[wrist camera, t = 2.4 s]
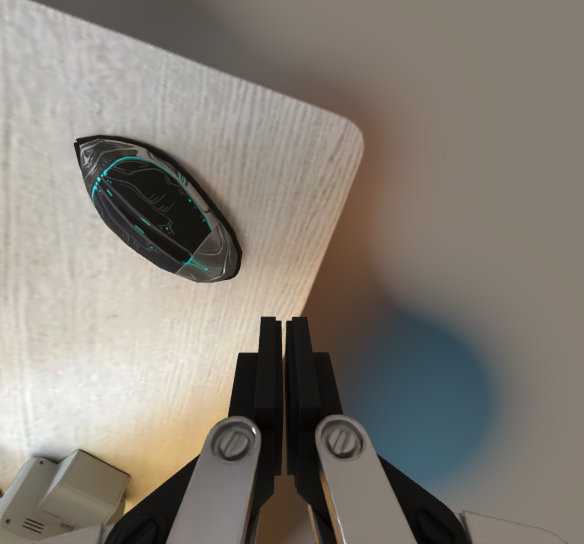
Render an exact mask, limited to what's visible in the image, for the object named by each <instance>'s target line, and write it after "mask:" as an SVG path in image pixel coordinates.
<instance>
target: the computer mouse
mask: <svg viewBox="0 0 584 544" xmlns="http://www.w3.org/2000/svg"><path fill="white" fill-rule="evenodd" d="M76 141H77V142H75V143H74V147H75V151H76V155H77V159H78V163H79V167H80V169H81V171H82V175H83V179H84V182H85V186H86V189H87V192H88V194H89V196H90V198H91V200H92V202H93V204H94V206H95V208H96V210H97V211H98V213H99V215H100V217H101V218H102V219H103V221H104V222H105V224H106V225H107V226H108V227H109V228H110V229H111V230H112V231H113V232H114V233H115V234H116V235H117V236H118V237H119V238H120V239H122V240H123V241H124V242H125V243H126V244H127V245H128V246H129V247H131V248H132V249H133V250H135V251H136V252H137V253H139V254H140V255H142V256H143V257H145V258H146V259H148V260H149V261H151V262H152V263H153V264H155V265H156V266H158V267H159V268H161V269H164V270H166V271H169V272H171V273H173V274H176V275H179V276H181V277H184V278H187V279H189V280H192V281H194V282H205V283H213V282H218V281H223V280H229V279H232V278H234V277H235V276H236V275H237V274H238V272H239V270H240V266H241V259H242V250H241V247H240V245H239V242H238V239H237V237H236V234H235V232H234V230H233V229H232V227H231V226H230V224H229V223H228V221H227V220H226V218H225V217H224V215H223V214H222V213H221V211H220V210H219V209H218V208H217V206H216V205H215V204H214V203H213V201H212V200H211V199H210V198H209V196H208V195H207V194H206V193H205V191H204V190H203V189H202V188H201V186H200V185H199V184H198V183H197V181H196V180H195V179H194V178H193V177H192V176H191V175H190V174H189V173H188V172H187V171H186V170H185V169H184V168H182V167H181V166H180V165H179V164H178V163H177V162H176V161H175V160H174V159H173V158H171V157H170V156H169V155H167V154H166V153H164V152H163V151H161V150H159V149H157V148H155V147H153V146H150V145H148V144H145V143H142V142H139V141H135V140H132V139H127V138H122V137H115V136H103V135H97V136H90V137H84V138H78V139H76Z"/></svg>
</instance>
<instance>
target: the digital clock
mask: <svg viewBox="0 0 584 544" xmlns="http://www.w3.org/2000/svg"><path fill="white" fill-rule="evenodd" d="M129 479H130V476H128V475H126V474H124V473H123V472H121V471H119V470H117V469H115V468H113V467H111V466H109V465H107V464H105V463H103V462H101V461H100V460H98V459H96V458H94V457H92V456H90V455H88V454H86V453H84V452H82V451H80V450H76V451H75V452H74V453H72V454H71V455H69V456H68V457H67V458H65V459H64V460H62V461H61V462H60V463H58V464H55V463H53V462H51V461H49V460H47V459H45V458H42V457H34V458H31V459H29V460H28V461H27V462H25V463H24V464H23V466H22V467H21V469H20V470H19V472H18V473H17V475H16V476H15V478H14V480H13V481H12V483H11V484H10V486H9V487H8V489H7V491H6V492H5V494H4V495H3V497H2V498H1V500H0V544H30V543H33V542H37V541H40V540H44V539H47V538H51V537H54V536H58V535H61V534H65V533H68V532H72V531H75V530H78V529H82V528H85V527H89V526H92V525H96V524H99V523H103V524H104V526H108V525H111V524H115V523H117V522H118V521H119V520H120V519H121V518H122V517H123V514H124V509H125V499H124V497H122V496H123V494H124V491H125V489H126V486H127V484H128V482H129Z"/></svg>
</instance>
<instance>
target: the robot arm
mask: <svg viewBox="0 0 584 544" xmlns="http://www.w3.org/2000/svg"><path fill="white" fill-rule="evenodd" d="M284 385H285V386H284V387H285V419H286V450H287V475H294V487H297V493H298V494H300V496H301V497H302V498H303V499H304V500H305V501H306V502H307V503H308V511H309V516H310V521H311V525H312V530H313V535H314V539H315V544H568V543H567V542H566V541H564V540H563V539H561V538H560V537H558V536H557V535H556V534H554V533H552V532H550V531H547V530H545V529H542V528H538V527H534V526H529V525H525V524H521V523H517V522H512V521H508V520H504V519H499V518H495V517H491V516H486V515H482V514H478V513H473V512H469V511H465V510H463V511H462V513H461V514H459V513H455V512H452V511H451V510H450V509H449V508H448V507H447V506H446V505H444V504H443V503H442V502H441V501H439V500H438V499H436V498H435V497H434V496H433V495H431V494H430V493H429V492H427V491H426V490H425V489H423V488H422V487H421V486H419V485H418V484H417V483H415V482H414V481H413V480H411V479H410V478H409V477H407V476H406V475H404V474H403V473H402V472H401V471H399V470H398V469H397V468H395V467H394V466H393V465H391V464H390V463H389V462H387V461H386V460H385V459H383V458H382V457H381V456H379V455H378V454H377V453H376V452H375V450H374V448H373V446H372V443H371V441H370V439H369V437H368V434H367V433H366V431H365V429H364V428H363V426H362V425H360V424H359V423H358V422H357V421H356V420H354V419H352V418H351V417H348V416H345V415H343V412H342V407H341V403H340V399H339V394H338V390H337V386H336V381H335V377H334V373H333V368H332V364H331V360H330V356H329V353H327V352H326V353H325V352H321V353H320V352H316V353H315V352H312V347H311V340H310V334H309V328H308V321H307V317H292V321H286V345H285V372H284ZM282 435H283V364H282V326H281V321H276V317H261V324H260V337H259V349H258V353H239V354H238V359H237V365H236V371H235V377H234V383H233V389H232V395H231V401H230V407H229V413H228V418H225V419H223V420H221V421H220V422H218V423H217V424H216V425H215V426H214V427H213V428H212V429H211V430H210V432H209V434H208V435H207V437H206V440H205V443H204V445H203V448H202V450H201V453H200V454H199V455H198V456H197V457H195V458H194V459H193V460H192V461H191V462H189V463H188V464H187V465H186V466H184V467H183V468H182V469H181V470H179V471H178V472H177V473H176V474H174V475H173V476H172V477H171V478H170V479H168V480H167V481H166V482H165V483H163V484H162V485H161V486H160V487H158V488H157V489H156V490H155V491H153V492H152V493H151V494H150V495H148V496H147V497H146V498H145V499H144V500H142V501H141V502H140V503H139V504H137V505H136V506H135V507H134V508H132V509H131V510H130V511H129V512H127V513H126V514H125V515H124V516H123V517H122V518H121V519H120V520H119V521H118V522H117V523H115V524H111V525H108V526H104V524H103V523H99V524H96V525H92V526H89V527H85V528H82V529H78V530H75V531H72V532H68V533H65V534H61V535H58V536H54V537H51V538H47V539H44V540H40V541H37V542H33V543H30V544H256V543H257V536H258V530H259V525H260V519H261V513H262V506H263V504H265V502H266V501H267V500H268V499H269V498H270V497H271V496H272V495H273V493H274V476H280V475H281V464H282V437H283V436H282Z"/></svg>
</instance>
